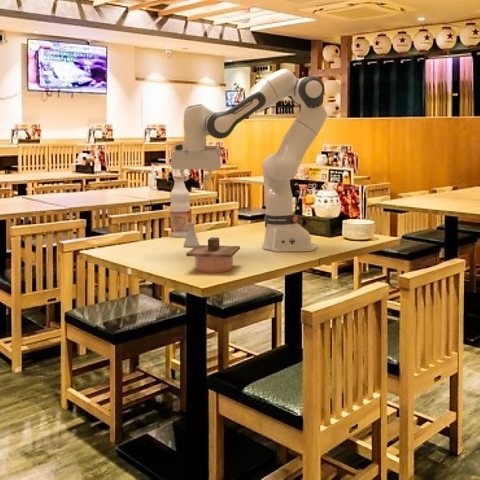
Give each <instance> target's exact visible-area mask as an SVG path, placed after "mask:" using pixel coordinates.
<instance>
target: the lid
mask: <svg viewBox="0 0 480 480" xmlns="http://www.w3.org/2000/svg"><path fill="white" fill-rule="evenodd" d="M239 250H241V246H240V245H220V237H214V236H212V237H210V238H208V239H207V245H206V244H205V245H203V244H201V245H200V244H199V245H197V246H196V247H192V249H190V250H189V251H188V252H186V254H185V256H186V257H194V258H195V257H232V256H233V257H234V256H235V255H236V253H237V252H238V251H239Z"/></svg>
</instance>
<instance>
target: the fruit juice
mask: <svg viewBox="0 0 480 480" xmlns="http://www.w3.org/2000/svg"><path fill="white" fill-rule="evenodd" d="M173 180H174V182H173V183H174V185H173V188H172V189H171V191H170V194H169V199H170V205H169V215H170V222H169V223H170V235H171V237H173V238H186V236H187V233H188V224H187V223H192V221H191V219H192V218H191V203H190V191H189V190H188V189H187V187H186V183H185V181H183V176H182V175H174V176H173Z"/></svg>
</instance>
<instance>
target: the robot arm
mask: <svg viewBox="0 0 480 480" xmlns="http://www.w3.org/2000/svg"><path fill="white" fill-rule="evenodd" d="M324 96H325V84H324V82H323V80H321V79H320V78H319V77H318V76H314V75H309V76H304V77H301V78H297V77H296V76H295V74H294V73H293V71H291V70H290V69H288V68H282V69H278V70H277V71H273V72H272V73H269V74H267V76H265V77H263V78H262V79H260V80H259V81H257V82H256V83H255V84H254V85H252V87H251V88H250V89H249V91H248V94H247V96H246V97H245V98H243V100H241V101H239V102H238V103H237V104H235V105H234V106H232V107H231V108H229V109H227V110H224V111H218V112H217V111H214V110H212V109H209V108H208V107H207V106H206V105H204V104H202V103H200V104H195V105H190V106H187V107H186V108H185V109H184V112H183V130H184V136H183V139H184V140H183V142H179V143H178V144H175V145H173V146H172V151H173V152H172V153H171V155H170V167H171V169H172V170H179V174H180V176H183V181H184V182H186V181H188V176H187V175H186V174H185V170H207V173H208V174H207V175H205V176H204V177H205V182H210V181H211V175H212V173H213V170H219V169H220V168H221V167H222V162H221V155H222V150H221V148H220V146H217V145H213V146H212V145H207V136H211V137H212V138H215V139H219V140H221V139H225V138H227V137H229V136H230V135H231V134H232V132H233V130H234V129H235V127H236V126H237V125H238V124H240V123H241V122H243V120H245V119H247V118H248V117H250V116H251V115H252V114H254V113H256V112H259V111H262V110H265V109H268V108H271V107H272V106H274V105H275V104H276V103H279V102H280V101H281V100H283V99H285V98H286V97H287V98H288V99H290V100H291V101H292V102H293V103H294V104H295V105H298V106H300V111H299V114H298V115H297V116H296V118H295V119H294V121H292V122H293V123H292V124H291V125H290V126H289V128H288V130H287V131H286V133H285V134H284V136H283V138H282V141H281V143H280V146H279V147H278V150H277V151H276V152H275V153H270V154H268V155H267V156H266V157H265V158H264V159H263V161H262V164H261V165H262V166H261V168H262V176H263V184H264V192H265V214H264V227H265V233H264V240H263V242H262V243H263V244H262V249H264V250H267V251H272V252H280V253H281V252H312V251H315V250H317V244H316V243H314V242H313V243H312V237H311V234H310V232H309V231H308V230H307V229H305V228H304V227H303V226H301V225H300V224H299V222H298V218H299V217H298V215H296V214H294V212H293V210H294V209H293V206H294V205H293V200H294V199H293V193H292V187H291V180H293V179H294V178H295V177H296V175H297V173H298V169H299V168H300V165H301V164H302V161H303V159H304V157H305V155H306V153H307V151H308V149H309V148H310V146H311V145H312V144H313V142H314V141H315V139H316V137H317V136H318V134H319V133H320V131H321V130H322V128H323V126H324V124H325V122H326V119H327V117H328V116H327V115H328V114H327V113H328V112H327V110H326V108H325V107H324V106H323V104H324Z"/></svg>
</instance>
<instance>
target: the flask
mask: <svg viewBox="0 0 480 480" xmlns="http://www.w3.org/2000/svg"><path fill="white" fill-rule="evenodd" d="M187 224H188V233H187V236H186V237H185V239H184V243H183V247H186V248H195V247H196V246H197V245H200V242H199V240H198V237H197V234H196V231H195V222H191V223H187Z"/></svg>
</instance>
